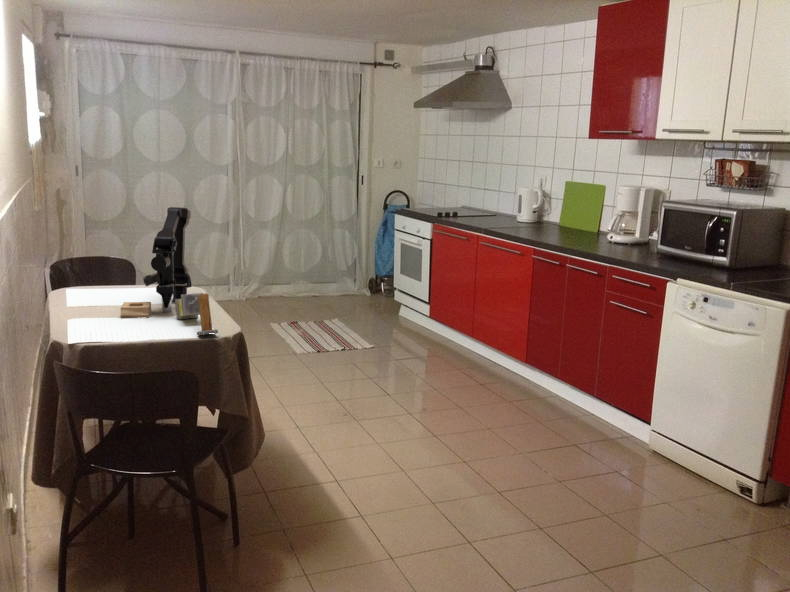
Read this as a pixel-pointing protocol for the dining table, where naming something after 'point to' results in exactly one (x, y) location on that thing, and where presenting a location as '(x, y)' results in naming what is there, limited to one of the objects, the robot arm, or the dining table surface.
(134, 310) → the bore block
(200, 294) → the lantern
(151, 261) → the robot arm
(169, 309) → the pin
